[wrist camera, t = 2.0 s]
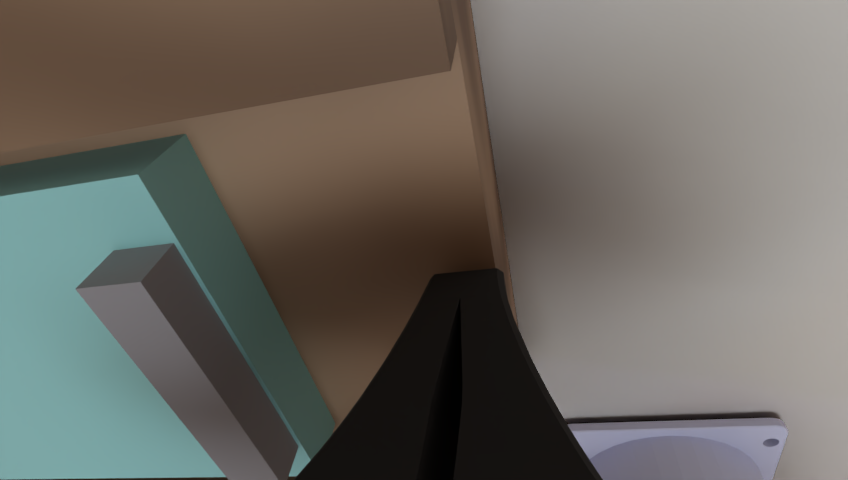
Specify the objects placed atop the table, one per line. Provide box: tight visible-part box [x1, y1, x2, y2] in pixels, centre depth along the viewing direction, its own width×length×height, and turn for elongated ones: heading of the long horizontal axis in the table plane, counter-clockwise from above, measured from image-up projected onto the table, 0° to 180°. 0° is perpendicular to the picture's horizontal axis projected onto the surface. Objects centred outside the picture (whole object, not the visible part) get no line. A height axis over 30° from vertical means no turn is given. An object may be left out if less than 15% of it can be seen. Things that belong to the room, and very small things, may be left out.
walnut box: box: [0, 0, 518, 480], centre depth 13 cm, size 14×17×6 cm
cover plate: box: [0, 134, 335, 480], centre depth 11 cm, size 9×10×2 cm
